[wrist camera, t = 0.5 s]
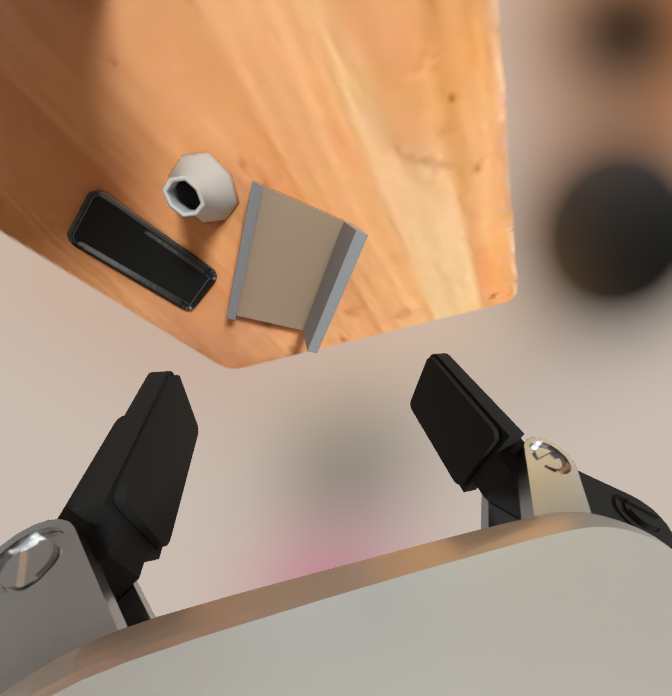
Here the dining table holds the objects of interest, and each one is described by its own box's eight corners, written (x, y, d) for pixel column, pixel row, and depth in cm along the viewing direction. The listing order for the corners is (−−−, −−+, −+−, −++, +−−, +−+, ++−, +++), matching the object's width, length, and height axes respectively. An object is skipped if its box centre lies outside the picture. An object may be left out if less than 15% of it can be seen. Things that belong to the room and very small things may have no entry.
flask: (202, 232, 32) (181, 253, 25) (156, 170, 28) (112, 172, 20) (249, 205, 32) (243, 218, 24) (210, 138, 27) (187, 126, 20)
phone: (189, 312, 38) (63, 240, 29) (191, 309, 38) (69, 237, 30) (219, 275, 35) (92, 185, 27) (220, 272, 36) (98, 184, 28)
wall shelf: (229, 307, 39) (222, 334, 33) (253, 180, 30) (249, 184, 24) (310, 326, 44) (317, 353, 38) (350, 223, 36) (368, 235, 29)
